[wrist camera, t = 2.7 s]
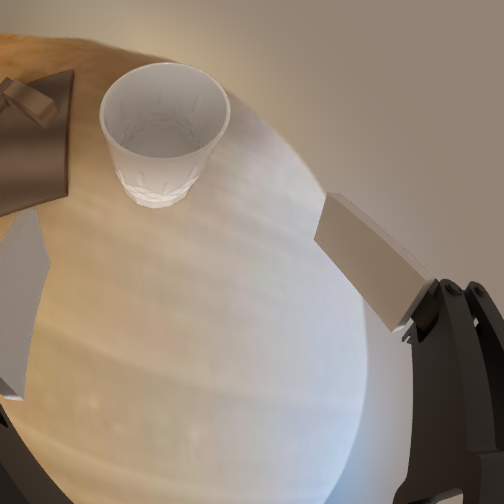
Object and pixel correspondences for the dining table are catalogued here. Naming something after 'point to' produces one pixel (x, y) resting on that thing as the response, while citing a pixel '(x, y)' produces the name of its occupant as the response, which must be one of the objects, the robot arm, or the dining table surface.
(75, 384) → the dining table surface
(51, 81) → the brown flat square slab
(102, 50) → the dining table surface
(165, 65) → the white cup
